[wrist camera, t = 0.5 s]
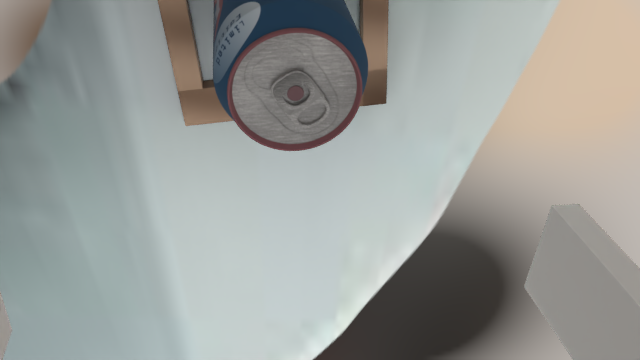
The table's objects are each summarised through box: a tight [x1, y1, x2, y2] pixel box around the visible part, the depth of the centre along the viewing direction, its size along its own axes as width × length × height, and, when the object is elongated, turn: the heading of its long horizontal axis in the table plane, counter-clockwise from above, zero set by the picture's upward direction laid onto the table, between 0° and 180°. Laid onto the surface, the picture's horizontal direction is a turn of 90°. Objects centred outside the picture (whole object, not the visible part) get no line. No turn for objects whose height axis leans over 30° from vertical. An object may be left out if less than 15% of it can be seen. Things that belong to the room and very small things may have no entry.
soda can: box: [213, 0, 368, 151], centre depth 30 cm, size 7×7×12 cm
